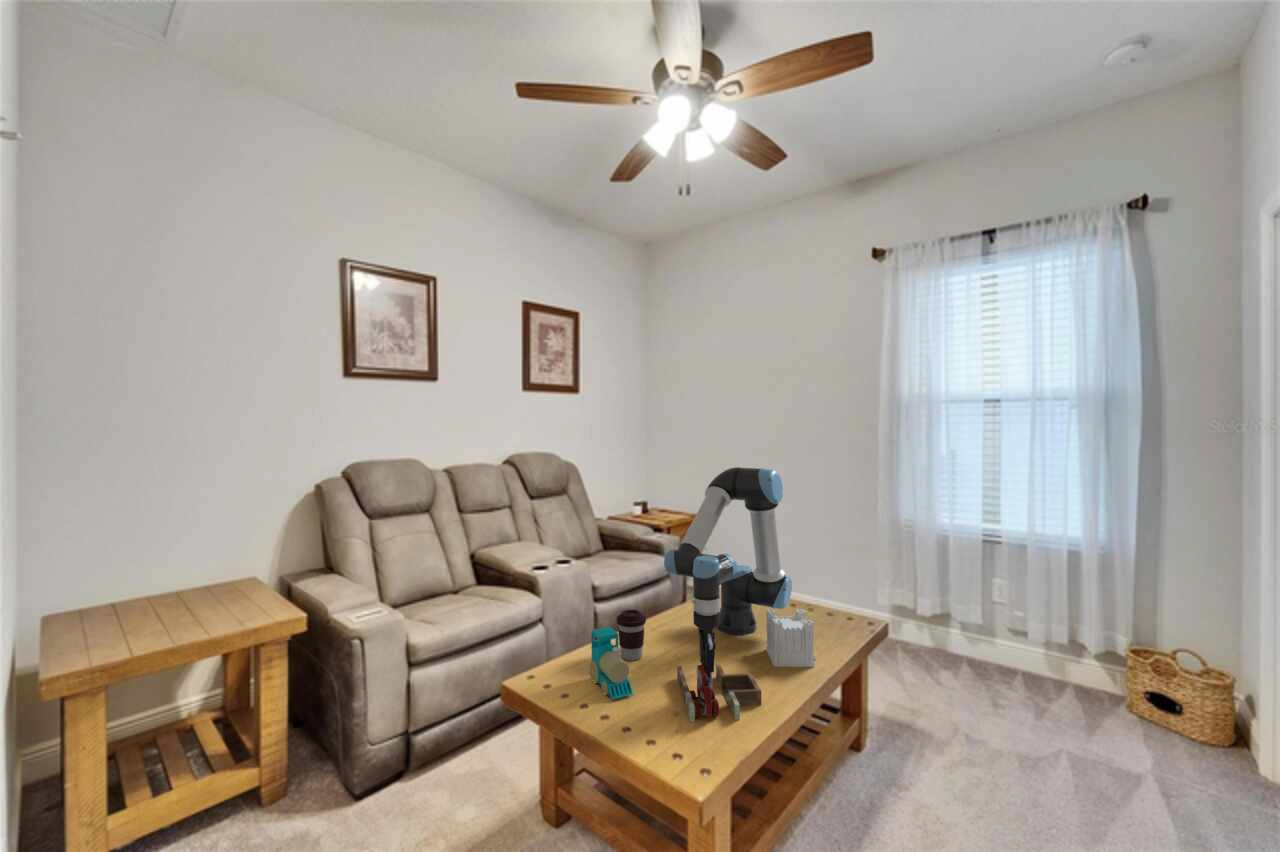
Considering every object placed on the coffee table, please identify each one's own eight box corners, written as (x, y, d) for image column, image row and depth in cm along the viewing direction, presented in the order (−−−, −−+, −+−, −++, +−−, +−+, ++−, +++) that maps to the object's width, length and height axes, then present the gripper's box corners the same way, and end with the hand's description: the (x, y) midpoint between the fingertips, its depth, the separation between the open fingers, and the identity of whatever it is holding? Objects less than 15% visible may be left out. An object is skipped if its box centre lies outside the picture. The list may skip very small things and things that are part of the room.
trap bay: (721, 688, 163) (720, 674, 162) (751, 686, 163) (751, 673, 163) (729, 706, 152) (729, 692, 152) (761, 704, 153) (761, 690, 153)
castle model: (766, 649, 189) (766, 608, 189) (809, 650, 189) (809, 609, 188) (774, 666, 176) (774, 623, 176) (820, 667, 176) (820, 623, 176)
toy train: (610, 703, 155) (609, 651, 154) (589, 678, 169) (589, 630, 169) (635, 696, 158) (634, 645, 158) (612, 672, 173) (612, 626, 173)
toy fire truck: (695, 723, 144) (694, 684, 144) (687, 699, 156) (687, 663, 156) (721, 722, 144) (720, 683, 144) (711, 698, 157) (710, 662, 156)
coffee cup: (652, 656, 185) (651, 612, 184) (631, 666, 177) (631, 620, 177) (631, 647, 191) (630, 605, 191) (610, 657, 184) (610, 613, 184)
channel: (677, 678, 168) (677, 666, 168) (719, 677, 169) (719, 664, 169) (690, 722, 144) (690, 707, 144) (739, 719, 145) (739, 704, 145)
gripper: (689, 603, 162) (690, 681, 163) (697, 620, 149) (698, 704, 150) (714, 602, 163) (714, 680, 163) (724, 619, 150) (725, 703, 150)
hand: (707, 691), depth 157 cm, fingers closed
